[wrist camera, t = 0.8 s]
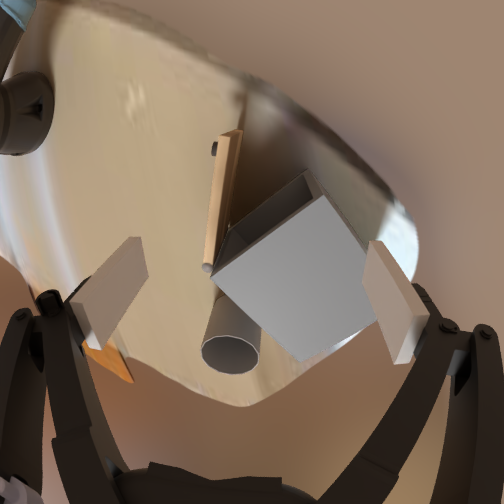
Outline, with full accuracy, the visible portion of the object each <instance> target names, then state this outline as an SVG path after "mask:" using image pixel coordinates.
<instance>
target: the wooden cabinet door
mask: <svg viewBox="0 0 504 504" xmlns="http://www.w3.org/2000/svg"><path fill="white" fill-rule="evenodd" d="M242 136H243V130H237V129H235V130H232V131H230V132H227V133H225V134H222V135H219V140H218V142H214V143H213V146H212V152H211V154H212V156H216V161H215V168H214V175H213V182H212V190H211V198H210V206H209V214H208V223H207V232H206V241H205V251H204V260H203V265H202V269H203V271H205V272H208V273H209V272H211V271H212V270H213V268H214V265H215V263H216V260H217V257H218V255H219V252H220V250H221V247H222V245H223V242H224V239H225V237H226V234H227V232H228V229H229V227H228V225H229V218H230V211H231V205H232V198H233V192H234V185H235V179H236V173H237V166H238V160H239V154H240V148H241V142H242Z"/></svg>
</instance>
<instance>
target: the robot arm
mask: <svg viewBox="0 0 504 504" xmlns="http://www.w3.org/2000/svg"><path fill="white" fill-rule="evenodd" d="M35 8H36V0H0V154H3V155H13V156H22V155H25V154H28V153H31V152H33V151H35V150H36V149H37V148H38V147H39V146H40V145H41V144H42V143H43V141H44V139H45V138H46V136H47V134H48V131H49V129H50V126H51V122H52V117H53V109H54V100H53V92H52V88H51V85H50V83H49V81H48V80H47V78H46V77H45V76H44V75H43V74H41V73H39V72H22V73H19V74H17V75H15V76H13V77H12V78H9V79H7V80H5V81H2V80H3V77H4V75H5V72H6V70H7V67H8V65H9V63H10V60H11V58H12V56H13V53H14V51H15V49H16V47H17V45H18V43H19V41H20V39H21V37H22V35H23V33H24V32H25V31H26V26H27V24H28V22H29V20H30V18H31V16H32V14H33V12H34V10H35ZM148 277H149V276H148V271H147V267H146V262H145V257H144V252H143V247H142V241H141V237H129V238H128V239H127V240H126V241H125V242H124V243H123V244H122V245H121V246H120V247H119V248H118V249H117V250H116V251H115V252H114V253H113V254H112V255H111V256H110V257H109V258H108V259H107V260H106V261H105V262H104V263H103V265H102V266H101V267H100V268H99V269H98V270H97V271H96V272H95V273H94V274H93V275H92V276H89V277H88V278H86V279H85V280H83V281H82V282H81V283H80V285H79V286H78V287H77V288H76V289H75V290H74V292H72V293H71V295H70V296H69V297H68V298H67V299H66V300H65V301H64V302H63V301H62V299H61V296H60V293H59V291H57V290H53V289H51V290H47V291H45V292H43V293H41V294H40V295H39V296H38V297H37V298H36V301H35V302H36V304H37V307H38V309H39V311H40V313H41V315H40V316H33V314H32V312H31V310H30V309H29V308H22V309H19V310H17V311H16V312H15V313H14V314H13V315H12V317H11V319H10V321H9V324H8V326H7V329H6V331H5V334H4V337H3V339H2V342H1V345H0V504H44V503H43V500H42V498H41V493H42V474H43V472H42V437H43V417H44V405H45V395H46V386H47V388H48V394H49V400H50V406H51V411H52V417H53V421H54V426H55V430H56V438H53V439H52V441H51V442H52V448H53V452H54V456H55V460H56V464H57V467H58V471H59V474H60V477H61V480H62V483H63V486H64V489H65V492H66V495H67V498H68V500H69V503H70V504H382V503H383V502H384V501H385V499H386V498H387V496H388V495H389V493H390V491H391V490H392V489H393V487H394V485H395V484H396V482H397V480H398V478H399V476H398V474H399V472H400V470H401V468H402V466H403V465H404V463H405V461H406V460H407V458H408V456H409V454H410V452H411V451H412V449H413V447H414V445H415V443H416V442H417V440H418V438H419V435H420V434H421V432H422V430H423V428H424V426H425V424H426V421H427V420H428V417H429V415H430V413H431V411H432V409H433V406H434V404H435V402H436V399H437V397H438V394H439V392H440V390H441V387H442V384H443V382H444V379H445V377H446V375H451V387H450V399H449V409H448V410H449V411H448V418H447V426H446V433H445V439H444V445H443V451H442V456H441V461H440V466H439V470H438V474H437V479H436V483H435V486H434V490H433V494H432V497H431V501H430V504H501V498H502V492H503V483H504V373H503V365H502V358H501V352H500V346H499V341H498V336H497V333H496V332H495V331H494V329H493V328H492V327H490V326H488V325H485V324H478V325H477V326H476V327H475V328H474V330H473V332H466V331H460V329H459V327H458V325H457V324H456V323H455V322H453V321H452V320H450V319H447V318H443V317H442V315H441V314H440V312H439V311H438V309H437V307H436V306H435V304H434V303H433V302H432V300H431V298H430V297H429V295H428V294H427V292H426V291H425V289H424V288H422V287H421V286H420V285H418V284H417V283H416V284H415V283H414V284H411V283H410V281H409V280H408V278H407V277H406V275H405V274H404V272H403V271H402V269H401V268H400V266H399V265H398V263H397V262H396V260H395V259H394V258H393V256H392V255H391V253H390V252H389V250H388V249H387V248H386V246H385V245H384V243H383V242H382V241H371V240H369V246H368V252H367V257H366V263H365V268H364V273H363V278H362V284H363V286H364V289H365V291H366V293H367V296H368V298H369V300H370V303H371V305H372V308H373V310H374V313H375V315H376V318H377V320H378V323H379V325H380V328H381V330H382V333H383V335H384V338H385V341H386V343H387V346H388V349H389V352H390V354H391V357H392V360H393V363H394V364H404V363H409V362H410V360H411V358H412V355H413V353H414V355H415V358H416V361H415V363H414V365H413V367H412V369H411V370H410V372H409V374H408V376H407V378H406V380H405V381H404V383H403V385H402V387H401V389H400V390H399V392H398V394H397V395H396V398H395V399H394V401H393V402H392V404H391V405H390V407H389V409H388V410H387V412H386V413H385V415H384V416H383V418H382V420H381V421H380V423H379V424H378V426H377V427H376V429H375V430H374V431H373V433H372V434H371V436H370V437H369V439H368V440H367V441H366V443H365V444H364V446H363V447H362V448H361V450H360V451H359V452H358V454H357V455H356V456H355V457H354V458H353V460H352V461H351V462H350V464H349V465H348V466H347V467H346V469H345V470H344V471H343V472H342V473H341V475H340V476H339V477H338V478H337V479H336V480H335V482H334V483H333V484H332V485H331V486H330V487H329V488H328V490H327V491H326V492H325V493H324V494H323V495H322V496H321V497H320V498H319V499H318V500H315V499H314V498H313V497H311V496H310V495H309V494H307V493H305V492H304V491H302V490H300V489H297V488H295V487H292V486H289V485H285V484H282V478H281V477H251V476H247V477H240V478H232V479H223V480H209V479H206V478H203V477H201V476H198V475H196V474H193V473H191V472H188V471H186V470H184V469H181V468H178V467H172V466H167V465H163V464H158V463H154V462H150V463H149V466H148V468H142V469H136V470H131V471H130V469H129V468H128V466H127V465H126V463H125V462H124V460H123V458H122V456H121V454H120V452H119V449H118V447H117V445H116V443H115V440H114V438H113V435H112V433H111V430H110V428H109V425H108V423H107V420H106V418H105V415H104V413H103V410H102V407H101V404H100V401H99V398H98V395H97V392H96V389H95V386H94V383H93V379H92V376H91V373H90V369H89V366H88V362H87V359H86V355H85V351H84V348H83V346H82V343H83V341H84V340H86V342H87V344H88V346H89V348H93V349H98V350H102V349H103V348H104V346H105V344H106V343H107V341H108V339H109V338H110V336H111V334H112V333H113V331H114V330H115V328H116V326H117V325H118V323H119V321H120V320H121V318H122V317H123V315H124V314H125V312H126V310H127V309H128V307H129V306H130V304H131V303H132V301H133V300H134V298H135V297H136V295H137V294H138V292H139V290H140V289H141V287H142V286H143V284H144V283H145V281H146V280H147V279H148Z"/></svg>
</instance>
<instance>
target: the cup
mask: <svg viewBox="0 0 504 504" xmlns="http://www.w3.org/2000/svg"><path fill="white" fill-rule="evenodd" d="M261 329H262V328H261V327H260V326H259V325H258V324H257V323H256V322H255V321H254V320H253V319H252V318H250V317H249V316H248V315H247V314H246V313H245V312H244V311H243V310H242V309H241V308H240V307H239V306H238V305H237V304H236V303H235V302H234V301H233V300H232V299H231V298H230V297H228V296H227V295H226V294H225V295H223V296H222V297H220V298H219V299H217V301H216V303H215V304H214V306H213V309H212V312H211V316H210V319H209V322H208V325H207V329H206V332H205V335H204V339H203V342H202V345H201V349H200V351H201V357H202V359H203V361H204V362H205V363H206V364H207V365H208V366H209V367H210V368H212V369H214V370H216V371H217V372H220V373H224V374H229V375H239V374H245V373H247V372H249V371H252V370H253V369H254V368H255V367H256V366H257V364H258V363H259V353H260V341H261Z"/></svg>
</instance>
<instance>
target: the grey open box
mask: <svg viewBox="0 0 504 504" xmlns="http://www.w3.org/2000/svg"><path fill="white" fill-rule="evenodd" d="M367 252H368V250H367V249H366V247H365V246H364V244H363V243H362V241H361V240H360V238H359V237H358V235H357V234H356V232H355V231H354V229H353V228H352V226H351V225H350V224H349V222H348V221H347V219H346V218H345V216H344V215H343V214H342V212H341V211H340V209H339V208H338V207H337V205H336V204H335V203H334V201H333V200H332V198H331V197H330V196H329V194H328V193H327V192H326V190H325V189H324V188H323V186H322V185H321V184H320V182H319V181H318V180H317V178H316V177H315V176H314V175H313V173H312V172H311V171H310V169H309V168H308V169H307V170H305V171H304V172H302V173H301V174H300V175H298V176H297V177H296V178H295V179H293V180H292V181H291V182H289V183H288V184H287V185H285V186H284V187H283V188H281V189H280V190H279V191H277V192H276V193H275V194H273V195H272V196H271V197H270V198H268V199H267V200H266V201H264V202H263V203H262V204H260V205H259V206H258V207H257V208H255V209H254V210H253V211H251V212H250V213H249V214H248V215H246V216H245V217H244V218H242V219H241V220H240V221H239V222H237V223H236V224H235V225H234V226H232V227H231V228H230V229H229V230H228V232H227V235H226V237H225V240H224V242H223V245H222V248H221V250H220V253H219V255H218V258H217V260H216V263H215V266H214V268H213V271H212V274H211V276H210V279H211V280H212V281H213V282H214V283H215V284H216V285H217V286H218V287H219V288H220V289H221V290H222V291H223V292H224V293H225V294H226V295H227V296H228V297H230V298H231V299H232V300H233V301H234V302H235V303H236V304H237V305H238V306H239V307H240V308H241V309H242V310H243V311H244V312H245V313H246V314H247V315H248V316H249V317H250V318H252V319H253V320H254V321H255V322H256V323H257V324H258V325H259V326H260V327H261V328H262V329H263V330H264V331H265V332H267V333H268V334H269V335H270V336H271V337H272V338H273V339H274V340H275V341H276V342H277V343H278V344H280V345H281V346H282V347H283V348H284V349H285V350H286V351H287V352H288V353H289V354H291V355H292V356H293V357H294V358H295V359H296V360H297V361H298V362H303V361H305V360H307V359H308V358H310V357H312V356H314V355H316V354H318V353H320V352H322V351H324V350H326V349H328V348H330V347H331V346H333V345H335V344H337V343H339V342H341V341H342V340H344V339H346V338H348V337H350V336H351V335H353V334H355V333H357V332H358V331H360V330H362V329H363V328H365V327H367V326H368V325H370V324H372V323H373V322H375V321H377V318H376V315H375V313H374V310H373V308H372V305H371V303H370V300H369V298H368V296H367V293H366V291H365V289H364V286H363V284H362V278H363V273H364V268H365V263H366V257H367Z"/></svg>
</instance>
